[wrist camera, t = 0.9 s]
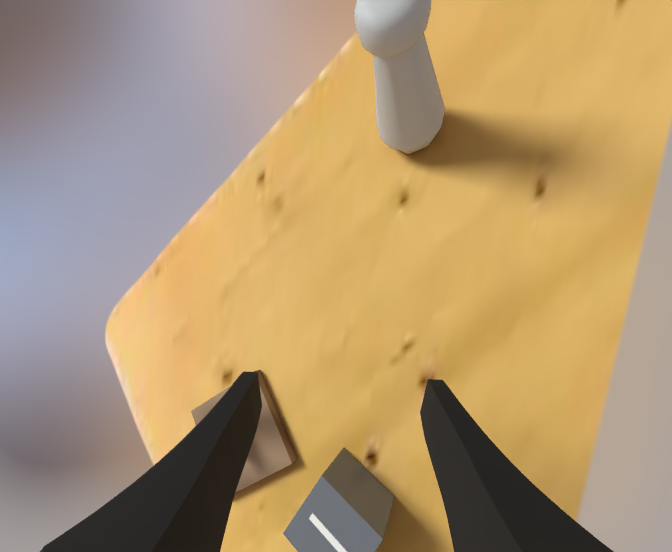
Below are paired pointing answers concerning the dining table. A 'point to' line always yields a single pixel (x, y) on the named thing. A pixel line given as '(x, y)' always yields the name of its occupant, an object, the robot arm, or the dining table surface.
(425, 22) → the salt shaker
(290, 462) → the base
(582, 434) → the dining table surface
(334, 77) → the dining table surface
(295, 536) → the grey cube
